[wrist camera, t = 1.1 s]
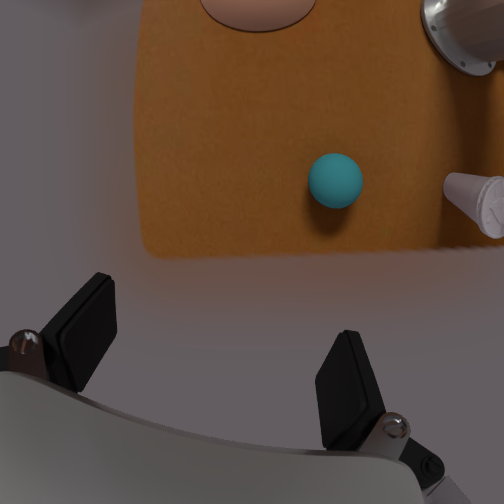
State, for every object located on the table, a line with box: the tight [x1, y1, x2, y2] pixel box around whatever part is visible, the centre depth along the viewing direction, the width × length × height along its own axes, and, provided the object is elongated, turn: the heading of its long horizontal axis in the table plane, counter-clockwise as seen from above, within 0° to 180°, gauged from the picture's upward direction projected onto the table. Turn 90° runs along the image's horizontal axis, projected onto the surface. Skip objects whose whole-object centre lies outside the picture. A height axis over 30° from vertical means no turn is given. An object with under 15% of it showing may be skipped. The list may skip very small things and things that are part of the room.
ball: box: [308, 153, 363, 208], centre depth 27 cm, size 6×6×6 cm
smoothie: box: [443, 172, 504, 239], centre depth 22 cm, size 6×6×14 cm
